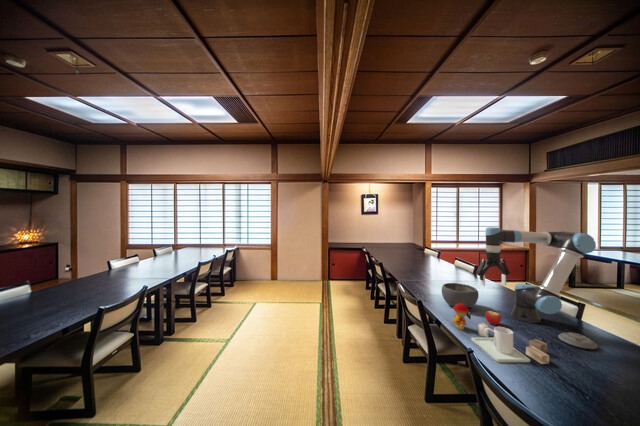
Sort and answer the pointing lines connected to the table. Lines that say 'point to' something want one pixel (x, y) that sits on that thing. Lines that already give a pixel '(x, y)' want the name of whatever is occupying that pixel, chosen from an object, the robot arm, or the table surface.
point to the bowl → (459, 294)
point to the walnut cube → (538, 345)
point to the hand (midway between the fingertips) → (493, 284)
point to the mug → (502, 339)
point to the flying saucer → (577, 340)
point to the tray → (498, 356)
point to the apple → (493, 317)
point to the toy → (461, 315)
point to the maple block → (537, 355)
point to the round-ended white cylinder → (482, 329)
